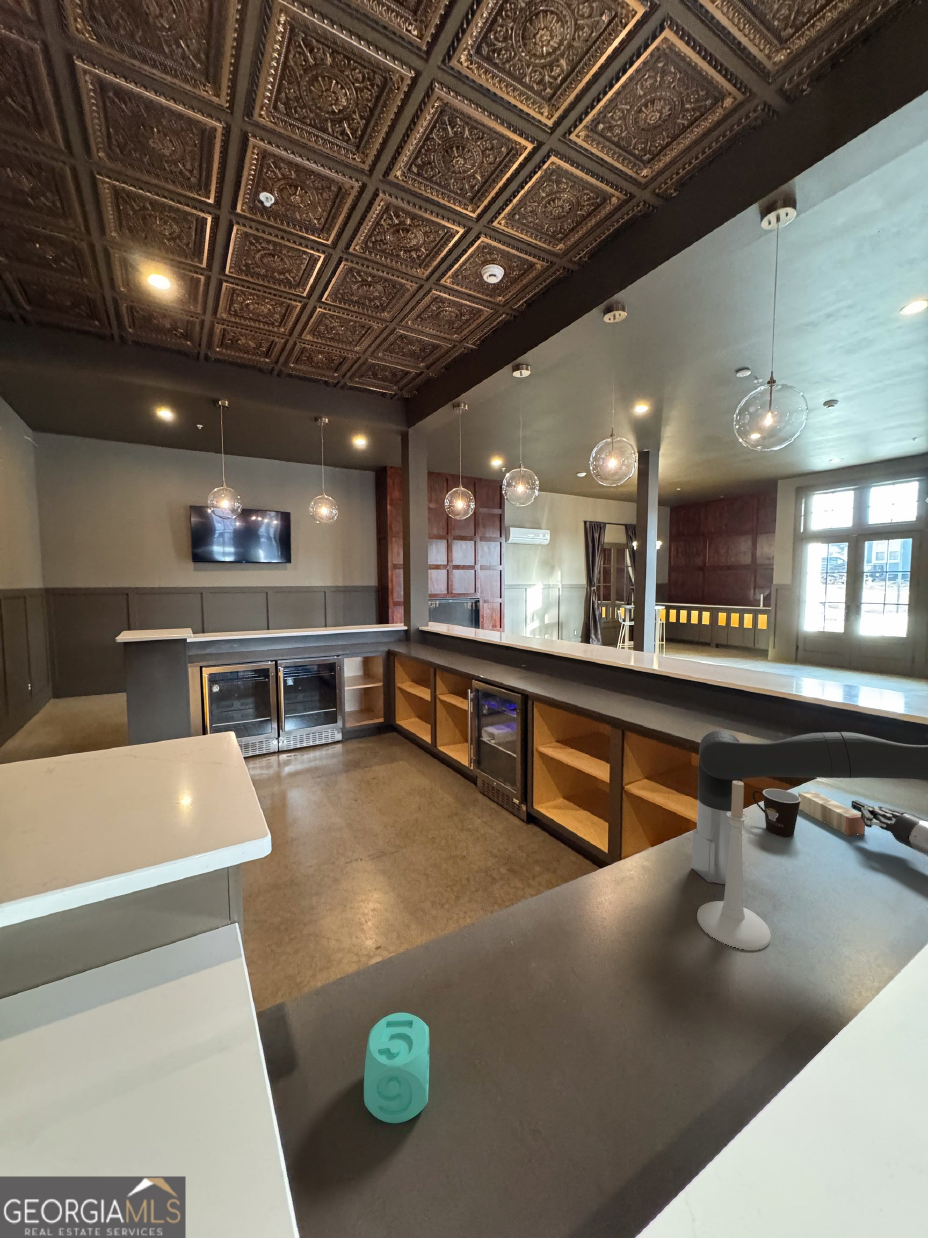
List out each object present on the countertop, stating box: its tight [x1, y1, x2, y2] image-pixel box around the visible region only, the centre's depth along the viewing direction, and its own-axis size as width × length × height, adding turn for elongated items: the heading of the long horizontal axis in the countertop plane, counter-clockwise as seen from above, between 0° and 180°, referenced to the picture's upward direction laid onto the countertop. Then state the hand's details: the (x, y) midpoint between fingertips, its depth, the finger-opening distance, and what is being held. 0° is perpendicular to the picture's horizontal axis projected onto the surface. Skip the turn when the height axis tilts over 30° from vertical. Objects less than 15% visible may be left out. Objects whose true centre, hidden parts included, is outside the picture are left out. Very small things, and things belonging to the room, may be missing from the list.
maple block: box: [797, 790, 866, 837], centre depth 138 cm, size 5×5×16 cm
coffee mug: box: [752, 788, 801, 838], centre depth 134 cm, size 12×9×10 cm
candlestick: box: [696, 781, 772, 951], centre depth 96 cm, size 13×13×30 cm
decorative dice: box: [363, 1012, 430, 1124], centre depth 66 cm, size 8×8×8 cm
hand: (853, 803), depth 131 cm, fingers closed
